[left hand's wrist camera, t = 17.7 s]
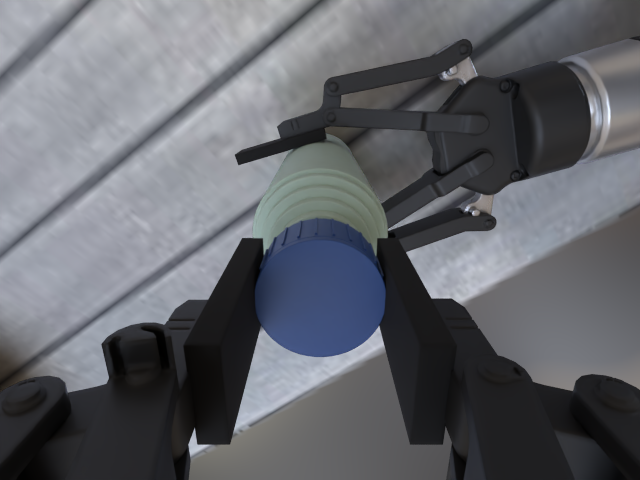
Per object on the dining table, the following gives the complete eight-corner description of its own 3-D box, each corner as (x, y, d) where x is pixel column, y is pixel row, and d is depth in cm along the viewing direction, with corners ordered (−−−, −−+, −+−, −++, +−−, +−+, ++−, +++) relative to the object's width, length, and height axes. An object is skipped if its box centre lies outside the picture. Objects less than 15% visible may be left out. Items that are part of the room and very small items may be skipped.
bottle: (368, 175, 36) (452, 308, 13) (313, 215, 37) (304, 400, 14) (326, 117, 34) (340, 157, 11) (270, 162, 35) (183, 277, 13)
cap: (237, 267, 14) (223, 296, 12) (326, 192, 13) (327, 209, 11) (315, 341, 16) (313, 380, 13) (402, 277, 15) (415, 307, 12)
